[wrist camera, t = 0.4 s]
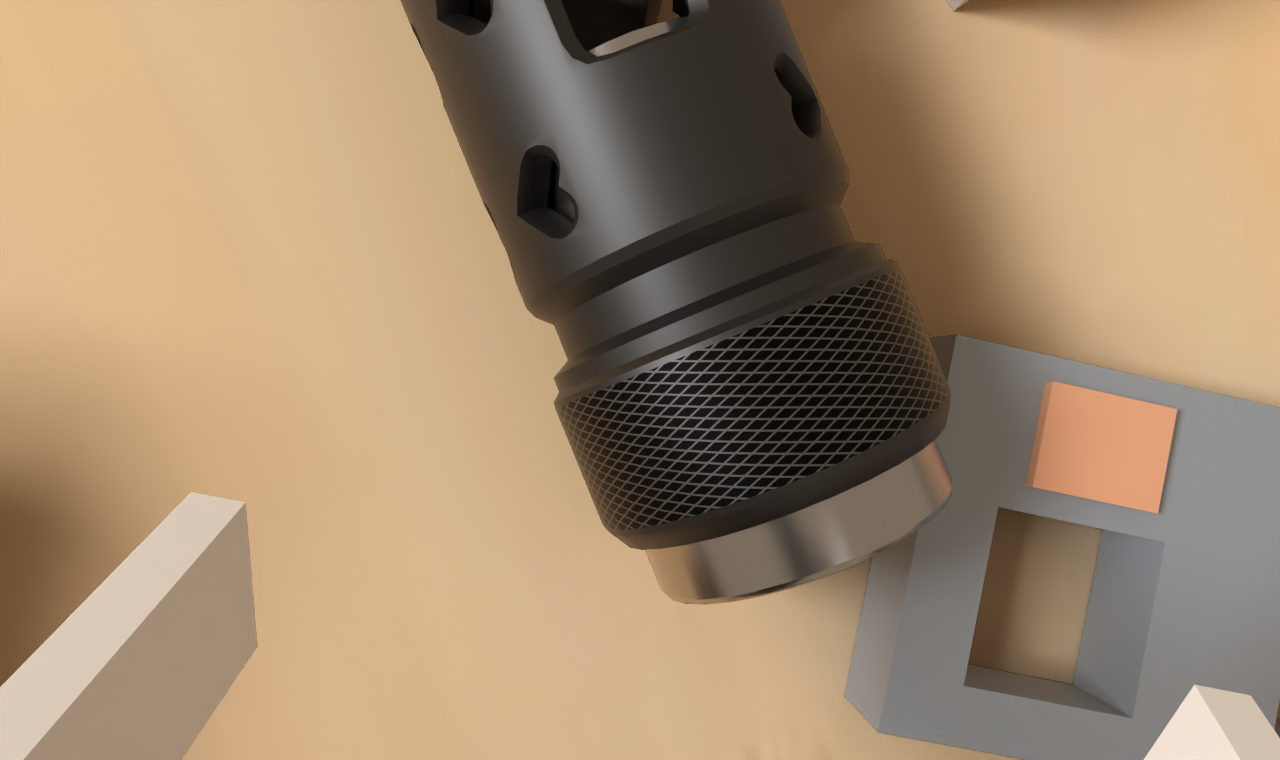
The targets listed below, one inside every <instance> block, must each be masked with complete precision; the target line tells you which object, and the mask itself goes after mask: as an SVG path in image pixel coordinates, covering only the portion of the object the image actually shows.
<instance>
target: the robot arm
mask: <svg viewBox="0 0 1280 760" xmlns="http://www.w3.org/2000/svg"><path fill="white" fill-rule="evenodd" d="M256 648H257V635H256V622H255V610H254V598H253V586H252V574H251V562H250V550H249V538H248V526H247V514H246V502H241V501H236V500H231V499H225V498H220V497H215V496H210V495H204V494H199V493H194V492H191V493H190V494H189V495H188V496H187V497H186V498H185V499H184V500H183V501H182V502H181V503H180V504H179V505H178V506H177V507H176V508H175V509H174V510H173V511H172V512H171V513H170V514H169V515H168V516H167V517H166V518H165V519H164V520H163V521H162V522H161V523H160V524H159V525H158V526H157V527H156V528H155V529H154V530H153V531H152V532H151V533H150V534H149V536H148V537H147V538H146V539H145V540H144V541H143V542H142V543H141V544H140V545H139V546H138V547H137V548H136V549H135V550H134V551H133V552H132V553H131V554H130V555H129V556H128V557H127V558H126V559H125V560H124V561H123V562H122V563H121V564H120V565H119V566H118V567H117V568H116V569H115V570H114V571H113V572H112V573H111V574H110V575H109V576H108V577H107V578H106V579H105V580H104V582H103V583H102V584H101V585H100V586H99V587H98V588H97V589H96V590H95V591H94V592H93V593H92V594H91V595H90V596H89V597H88V598H87V599H86V600H85V601H84V602H83V603H82V604H81V605H80V606H79V607H78V608H77V609H76V610H75V611H74V612H73V613H72V614H71V615H70V616H69V617H68V618H67V619H66V620H65V621H64V622H63V623H62V624H61V625H60V627H59V628H58V629H57V630H56V631H55V632H54V633H53V634H52V635H51V636H50V637H49V638H48V639H47V640H46V641H45V642H44V643H43V644H42V645H41V646H40V647H39V648H38V649H37V650H36V651H35V652H34V653H33V654H32V655H31V656H30V657H29V658H28V659H27V660H26V661H25V662H24V663H23V664H22V665H21V666H20V667H19V668H18V669H17V670H16V672H15V673H14V674H13V675H12V676H11V677H10V678H9V679H8V680H7V681H6V682H5V683H4V684H3V685H2V686H1V687H0V760H181V759H182V758H183V756H184V755H185V753H186V752H187V750H188V749H189V747H190V746H191V744H192V743H193V741H194V740H195V738H196V737H197V735H198V734H199V732H200V731H201V729H202V728H203V726H204V725H205V723H206V722H207V721H208V719H209V718H210V716H211V715H212V713H213V712H214V710H215V709H216V707H217V706H218V704H219V703H220V701H221V700H222V698H223V697H224V695H225V694H226V692H227V691H228V689H229V688H230V686H231V685H232V683H233V682H234V680H235V679H236V677H237V676H238V674H239V673H240V671H241V670H242V668H243V667H244V665H245V664H246V663H247V661H248V660H249V658H250V657H251V655H252V654H253V652H254V651H255V649H256ZM1144 760H1280V738H1279V736H1278V735H1277V733H1276V732H1275V730H1274V729H1273V727H1272V726H1271V725H1270V723H1269V722H1268V720H1267V719H1266V717H1265V716H1264V714H1263V713H1262V711H1261V710H1260V708H1259V707H1258V705H1257V704H1256V702H1255V701H1254V699H1253V698H1252V696H1251V695H1246V694H1241V693H1236V692H1231V691H1225V690H1220V689H1215V688H1210V687H1204V686H1199V685H1194V686H1193V687H1192V689H1191V690H1190V692H1189V693H1188V695H1187V696H1186V698H1185V699H1184V701H1183V702H1182V704H1181V705H1180V707H1179V708H1178V710H1177V711H1176V713H1175V714H1174V716H1173V717H1172V718H1171V720H1170V721H1169V723H1168V724H1167V726H1166V727H1165V729H1164V730H1163V732H1162V733H1161V735H1160V736H1159V738H1158V739H1157V741H1156V742H1155V744H1154V745H1153V747H1152V748H1151V750H1150V751H1149V752H1148V754H1147V755H1146V757H1145V758H1144Z"/></svg>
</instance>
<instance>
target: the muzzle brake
mask: <svg viewBox="0 0 1280 760" xmlns="http://www.w3.org/2000/svg"><path fill="white" fill-rule="evenodd" d="M401 3H402V5H403V8H404V10H405V12H406V15H407V17H408V20H409V22H410V25H411V27H412V30H413V31H414V33H415V35H416V37H417V39H418V41H419V44H420V46H421V48H422V50H423V52H424V54H425V56H426V58H427V60H428V62H429V64H430V67H431V69H432V71H433V73H434V75H435V78H436V81H437V83H438V86H439V89H440V92H441V96H442V100H443V105H444V108H445V110H446V113H447V115H448V118H449V120H450V122H451V125H452V127H453V130H454V132H455V135H456V137H457V139H458V142H459V144H460V147H461V149H462V152H463V154H464V157H465V159H466V161H467V164H468V166H469V169H470V171H471V174H472V176H473V179H474V181H475V183H476V186H477V188H478V191H479V193H480V196H481V198H482V201H483V203H484V205H485V207H486V209H487V211H488V213H489V215H490V217H491V219H492V221H493V223H494V225H495V227H496V229H497V231H498V234H499V237H500V239H501V241H502V243H503V245H504V247H505V249H506V251H507V254H508V257H509V260H510V263H511V267H512V270H513V273H514V277H515V281H516V284H517V286H518V289H519V291H520V293H521V296H522V298H523V301H524V303H525V306H526V308H527V309H528V310H529V311H530V312H531V313H532V314H533V315H534V316H535V317H536V318H538V319H540V320H543V321H545V322H548V323H550V324H553V325H554V326H555V328H556V331H557V333H558V336H559V338H560V341H561V343H562V346H563V348H564V351H565V353H566V356H567V358H568V362H567V363H566V364H565V365H564V366H563V368H562V369H561V370H560V371H559V372H558V374H557V375H556V376H555V377H554V379H555V382H556V385H557V387H558V390H559V394H558V396H557V397H556V399H555V401H554V405H555V409H556V411H557V414H558V416H559V418H560V421H561V423H562V426H563V428H564V431H565V433H566V436H567V438H568V440H569V443H570V445H571V448H572V450H573V453H574V455H575V458H576V460H577V462H578V465H579V467H580V470H581V472H582V475H583V477H584V480H585V482H586V484H587V487H588V489H589V492H590V494H591V497H592V499H593V501H594V504H595V506H596V509H597V511H598V514H599V516H600V519H601V521H602V523H603V525H604V527H605V528H606V529H607V530H608V531H609V532H610V533H611V534H613V535H614V536H615V537H617V538H618V539H619V540H621V541H622V542H623V543H625V544H626V545H628V546H629V547H630V548H635V549H641V550H645V551H646V554H647V556H648V559H649V561H650V563H651V566H652V568H653V571H654V573H655V576H656V578H657V581H658V583H659V585H660V588H661V590H662V591H663V592H664V593H665V594H666V595H667V596H669V597H670V598H671V599H672V600H674V601H678V602H681V603H685V604H713V603H724V602H734V601H739V600H744V599H750V598H755V597H760V596H764V595H768V594H772V593H776V592H780V591H783V590H787V589H791V588H794V587H797V586H800V585H803V584H806V583H809V582H812V581H816V580H819V579H822V578H824V577H827V576H829V575H832V574H834V573H837V572H839V571H842V570H844V569H847V568H849V567H852V566H854V565H856V564H858V563H861V562H863V561H865V560H867V559H869V558H871V557H873V556H875V555H877V554H879V553H881V552H883V551H885V550H886V549H888V548H890V547H892V546H893V545H895V544H897V543H898V542H900V541H902V540H904V539H905V538H907V537H908V536H910V535H911V534H913V533H914V532H915V531H917V530H918V529H920V528H921V527H922V526H924V525H925V524H926V523H928V522H929V521H931V520H932V519H933V518H934V517H935V516H936V515H937V514H938V513H939V512H940V511H941V510H942V509H943V508H944V507H945V506H946V504H947V503H948V501H949V499H950V498H951V496H952V483H953V480H952V477H951V475H950V472H949V470H948V467H947V465H946V462H945V460H944V458H943V455H942V453H941V450H940V448H939V445H938V443H937V440H936V438H937V437H938V436H939V435H940V434H941V432H942V431H943V430H944V428H945V427H946V423H947V418H948V412H949V407H950V400H951V393H950V388H949V385H948V383H947V381H946V378H945V376H944V373H943V371H942V368H941V366H940V363H939V361H938V358H937V356H936V353H935V351H934V348H933V346H932V343H931V341H930V338H929V336H928V333H927V331H926V328H925V326H924V323H923V321H922V318H921V316H920V314H919V311H918V309H917V306H916V304H915V301H914V299H913V296H912V294H911V291H910V289H909V286H908V284H907V281H906V279H905V276H904V274H903V271H902V269H901V267H900V265H899V264H898V262H896V261H892V260H889V259H886V258H885V256H884V253H883V251H882V249H881V247H880V244H874V243H862V242H855V240H854V238H853V235H852V233H851V231H850V228H849V226H848V223H847V221H846V219H845V216H844V214H843V212H842V209H841V207H840V204H841V202H842V199H843V197H844V195H845V192H846V190H847V188H848V185H849V170H848V168H847V166H846V163H845V161H844V158H843V156H842V153H841V151H840V148H839V146H838V143H837V141H836V138H835V136H834V133H833V131H832V128H831V126H830V123H829V121H828V118H827V116H826V113H825V111H824V108H823V106H822V104H821V101H820V99H819V96H818V94H817V91H816V89H815V86H814V84H813V81H812V79H811V76H810V74H809V71H808V69H807V66H806V64H805V61H804V59H803V56H802V54H801V51H800V49H799V47H798V44H797V42H796V39H795V37H794V34H793V32H792V29H791V27H790V24H789V22H788V19H787V17H786V14H785V12H784V9H783V7H782V4H781V2H780V0H673V12H675V13H676V14H678V15H679V16H680V17H681V18H678V19H674V20H670V21H665V22H661V23H658V24H657V20H658V16H659V12H660V7H661V3H662V0H401Z"/></svg>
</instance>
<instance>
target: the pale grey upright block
mask: <svg viewBox="0 0 1280 760" xmlns="http://www.w3.org/2000/svg"><path fill="white" fill-rule="evenodd" d="M968 1H969V0H946V2H947V3H948V5H949V6H950V8H951V9H952V10H953V11H955V10H956V9H958V8H959V7H961V6H962V5H964V4H965V3H966V2H968Z"/></svg>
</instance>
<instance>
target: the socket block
mask: <svg viewBox="0 0 1280 760" xmlns="http://www.w3.org/2000/svg"><path fill="white" fill-rule="evenodd" d="M930 341H931V343H932V346H933V348H934V351H935V353H936V356H937V358H938V361H939V363H940V366H941V368H942V371H943V373H944V376H945V378H946V381H947V383H948V385H949V388H950V393H951V400H950V407H949V412H948V418H947V423H946V427H945V428H944V430H943V431H942V432H941V434H940V435H939V436H938V437H937V438H936V440H937V443H938V445H939V448H940V450H941V453H942V455H943V458H944V460H945V462H946V465H947V467H948V470H949V472H950V475H951V477H952V480H953V483H952V496H951V498H950V499H949V501H948V503H947V504H946V506H945V507H944V508H943V509H942V510H941V511H940V512H939V513H938V514H937V515H936V516H935V517H934V518H933V519H932V520H931V521H929V522H928V523H926V524H925V525H924V526H922V527H921V528H920V529H918V530H917V531H915V532H914V533H913V534H911V535H910V536H908V537H907V538H905V539H904V540H902V541H900V542H898V543H897V544H895V545H893V546H892V547H890V548H888V549H886V550H885V551H883V552H881V553H879V554H877V555H875V556H873V557H872V561H871V566H870V571H869V576H868V581H867V586H866V591H865V596H864V601H863V606H862V611H861V616H860V621H859V626H858V631H857V636H856V641H855V646H854V651H853V656H852V661H851V666H850V671H849V676H848V681H847V686H846V691H845V698H846V699H847V700H848V701H849V702H850V703H851V704H852V705H853V706H854V707H855V708H856V709H857V710H858V712H859V713H860V714H861V715H862V716H863V717H864V718H865V719H866V720H867V721H868V722H869V723H870V724H871V726H872V727H873V728H874V729H875V730H876V731H877V732H878V733H883V734H889V735H894V736H899V737H905V738H910V739H916V740H921V741H926V742H932V743H937V744H942V745H948V746H953V747H959V748H964V749H969V750H975V751H980V752H986V753H991V754H996V755H1002V756H1007V757H1012V758H1018V759H1023V760H1144V758H1145V757H1146V755H1147V754H1148V752H1149V751H1150V750H1151V748H1152V747H1153V745H1154V744H1155V742H1156V741H1157V739H1158V738H1159V736H1160V735H1161V733H1162V732H1163V730H1164V729H1165V727H1166V726H1167V724H1168V723H1169V721H1170V720H1171V718H1172V717H1173V716H1174V714H1175V713H1176V711H1177V710H1178V708H1179V707H1180V705H1181V704H1182V702H1183V701H1184V699H1185V698H1186V696H1187V695H1188V693H1189V692H1190V690H1191V689H1192V687H1193V686H1194V685H1199V686H1204V687H1210V688H1215V689H1220V690H1225V691H1231V692H1236V693H1241V694H1246V695H1251V696H1252V698H1253V699H1254V701H1255V702H1256V704H1257V705H1258V707H1259V708H1260V710H1261V711H1262V713H1263V714H1264V716H1265V717H1266V719H1267V720H1268V722H1269V723H1270V725H1271V726H1272V727H1273V729H1274V730H1275V732H1276V733H1277V735H1278V736H1279V738H1280V725H1278V724H1276V718H1277V713H1278V707H1279V701H1280V408H1279V407H1275V406H1270V405H1266V404H1262V403H1257V402H1253V401H1248V400H1244V399H1240V398H1235V397H1231V396H1226V395H1222V394H1217V393H1213V392H1209V391H1204V390H1200V389H1195V388H1191V387H1187V386H1182V385H1178V384H1173V383H1169V382H1165V381H1160V380H1156V379H1151V378H1147V377H1143V376H1138V375H1134V374H1129V373H1125V372H1121V371H1116V370H1112V369H1107V368H1103V367H1099V366H1094V365H1090V364H1085V363H1081V362H1077V361H1072V360H1068V359H1063V358H1059V357H1055V356H1050V355H1046V354H1041V353H1037V352H1033V351H1028V350H1024V349H1019V348H1015V347H1011V346H1006V345H1002V344H997V343H993V342H989V341H984V340H980V339H975V338H971V337H967V336H962V335H958V334H955V335H949V336H943V337H937V338H931V339H930ZM998 507H1000V508H1005V509H1010V510H1014V511H1019V512H1024V513H1029V514H1033V515H1038V516H1043V517H1048V518H1052V519H1057V520H1062V521H1067V522H1071V523H1076V524H1081V525H1086V526H1090V527H1095V528H1100V529H1102V534H1101V539H1100V544H1099V550H1098V555H1097V560H1096V566H1095V571H1094V576H1093V581H1092V587H1091V592H1090V597H1089V602H1088V608H1087V613H1086V618H1085V624H1084V629H1083V634H1082V639H1081V645H1080V650H1079V655H1078V661H1077V666H1076V671H1075V676H1074V682H1073V685H1072V684H1067V683H1062V682H1057V681H1051V680H1046V679H1041V678H1036V677H1031V676H1026V675H1021V674H1015V673H1010V672H1005V671H1000V670H995V669H990V668H985V667H979V666H974V665H969V664H968V661H969V656H970V651H971V645H972V640H973V635H974V630H975V625H976V620H977V615H978V609H979V604H980V599H981V594H982V589H983V584H984V579H985V573H986V568H987V563H988V558H989V553H990V548H991V543H992V537H993V532H994V527H995V522H996V517H997V512H998Z"/></svg>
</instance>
